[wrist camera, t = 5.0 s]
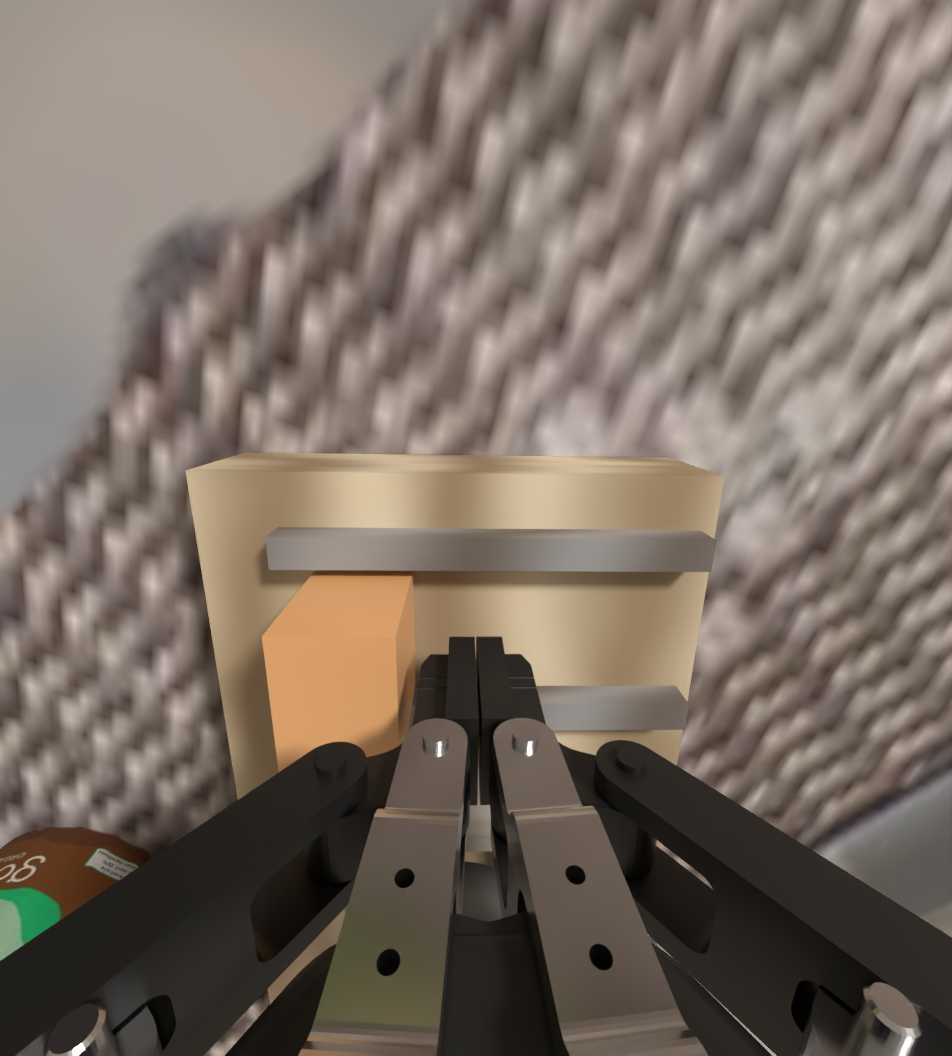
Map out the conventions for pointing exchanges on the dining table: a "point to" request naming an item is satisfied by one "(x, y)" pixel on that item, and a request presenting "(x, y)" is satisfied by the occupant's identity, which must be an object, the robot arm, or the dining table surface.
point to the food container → (56, 877)
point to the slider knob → (342, 663)
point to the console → (471, 583)
